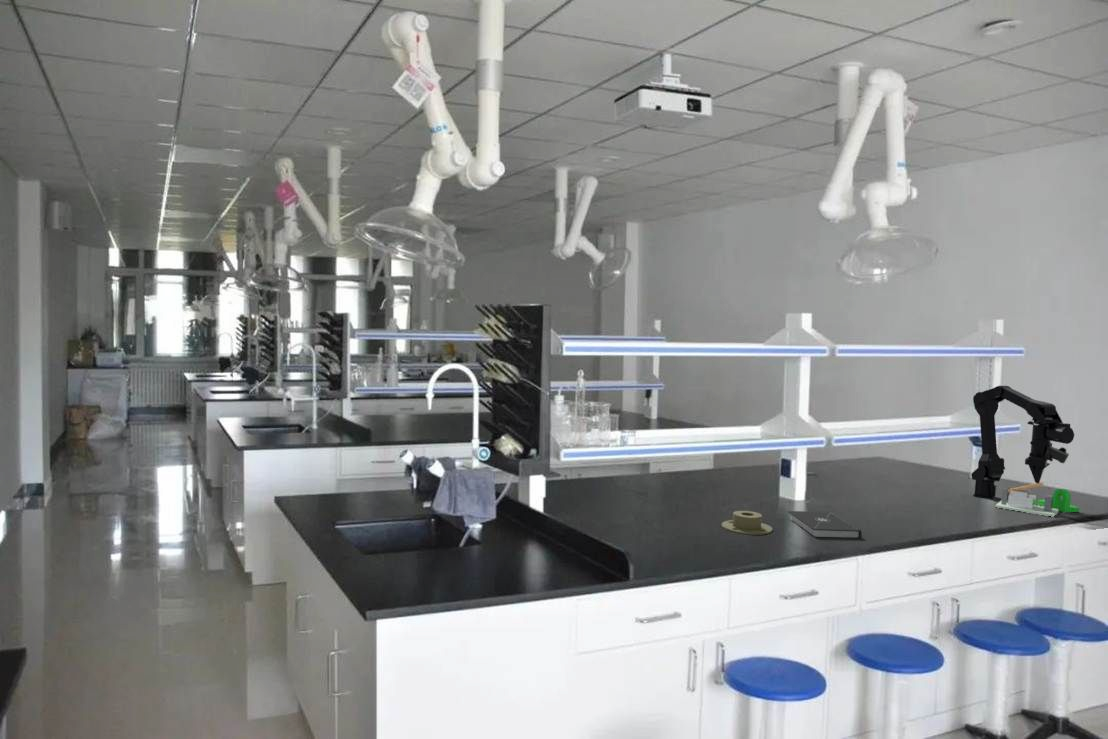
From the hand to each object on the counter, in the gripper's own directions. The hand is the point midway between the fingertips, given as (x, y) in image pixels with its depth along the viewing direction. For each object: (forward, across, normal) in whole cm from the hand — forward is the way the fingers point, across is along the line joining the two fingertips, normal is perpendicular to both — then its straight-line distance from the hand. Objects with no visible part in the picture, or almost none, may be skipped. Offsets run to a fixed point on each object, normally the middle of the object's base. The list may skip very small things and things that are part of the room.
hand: (1037, 483), depth 288 cm
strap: (+3, 0, +4) cm, 5 cm away
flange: (+11, -100, +62) cm, 118 cm away
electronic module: (+9, 0, +3) cm, 9 cm away
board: (+10, 0, +2) cm, 10 cm away
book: (+11, -82, +46) cm, 94 cm away
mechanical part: (+10, +12, -6) cm, 16 cm away
